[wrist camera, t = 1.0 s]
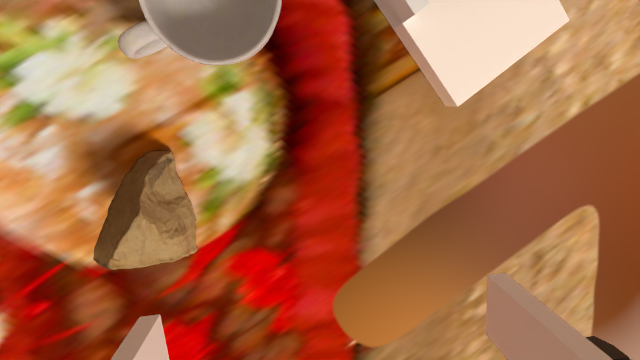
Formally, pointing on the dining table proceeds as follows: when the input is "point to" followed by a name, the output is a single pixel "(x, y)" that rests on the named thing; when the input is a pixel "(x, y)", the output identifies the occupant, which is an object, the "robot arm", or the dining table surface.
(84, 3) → the dining table surface
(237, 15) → the teacup
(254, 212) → the dining table surface
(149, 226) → the rock
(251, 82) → the dining table surface
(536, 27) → the channel
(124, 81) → the dining table surface
